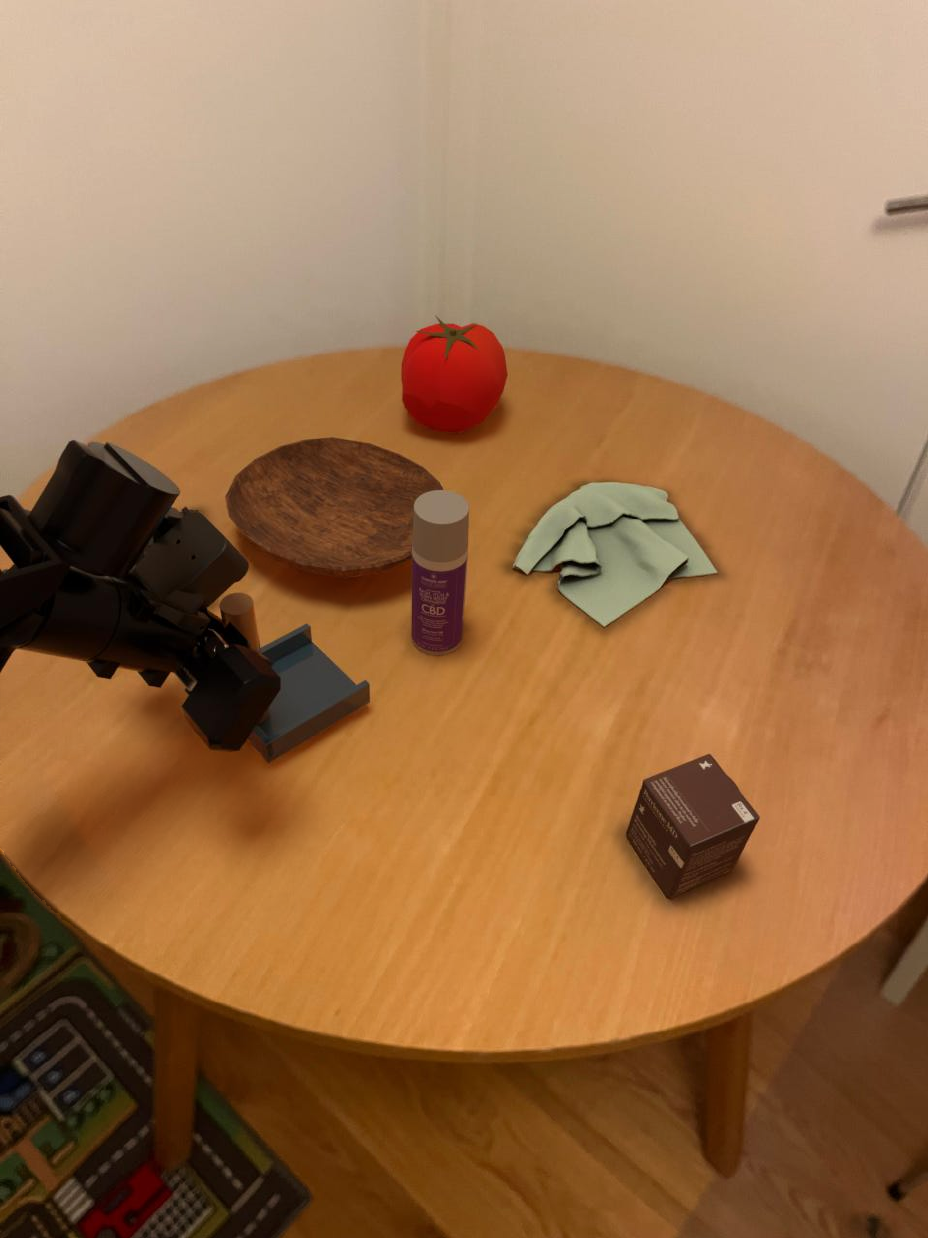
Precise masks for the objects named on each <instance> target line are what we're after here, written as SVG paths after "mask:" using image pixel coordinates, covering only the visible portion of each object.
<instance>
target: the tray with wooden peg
mask: <svg viewBox="0 0 928 1238" xmlns="http://www.w3.org/2000/svg"><path fill="white" fill-rule="evenodd" d="M254 603H255V602H254V599H253V598H252V597H251V595H249V594H247V593H244V592H232V593H229V594H227V595H226V596H223V597H222V598H221V600H220V602H219V606H218V607H219V611H220V618H221V619H222V623H223V628H224V629H225V627H226V626H227V624H228V623H229V622H231V623H232V624H233V625H234V626H235V627H236V629H237V630H238V631H239V632H240V633H241V634H242V635H243V636H244V637H245V638H246V639H247V640H248V642H249V644H250V647H251V650H254V651H256V652H258V653H260V654H262V655H264V656H266V657H268V658H270V659H271V660H272V661H273V662H274V664H273V666H272V667H271V668H272V669H273V670H274V671H275V672H276V673H277V674H278V675H279V676H280V678H281V690H280V691H279V693H278V694H277V696H276V697H275V699H274V700H273V702H272V703H271V705H270V706H269V708H268V709H267V711H266V712H265V714H264V715H263V717H262V718H261V720H260V721H259V722H258V724H257V725H256V727H255V728H254V730H253V731H252V733H251V734H250V736H249V737H248V739H247V740H246V741H248V742H249V743H250V744H251V746H252V747H253V748H254V749H255V750H256V752H258V754H259V755H260V756H261V757H262V758H263V759H264V760H265V762H266V763H267V764H270V763H272V762H274V761H275V760H277V759H279V758H281V757H282V756H284V755H285V754H287V753H289V752H290V751H292V750H294V749H295V748H297V747H299V746H300V745H302V744H303V743H305V742H307V741H309V740H310V739H312V738H313V737H315V736H317V735H319V734H320V733H322V732H323V731H325V730H327V729H328V728H330V727H332V726H333V725H335V724H337V723H338V722H340V721H342V720H344V719H346V718H347V717H348V716H350V715H352V714H353V713H356V712H357V711H358V710H360V709H362V708H364V707H365V706H367V705H368V704H370V703H371V687H370V686H371V684H370V682H369V681H368V680H366V679H364V680H363V681H360V682H359V683H357V684H356V683H355V681H353V680H352V678H350V677H349V676H348V675H347V674H346V673H345V672H344V671H343V670H342V669H341V668H340V667H339V666H338V665H337V664H336V663H335V662H334V661H333V660H332V659H331V658H330V657H329V656H328V655H327V654H325V652H324V651H323V650H321V648H320V647H318V646H317V645H316V644H315V642H313V637H312V627H311V626H310V625H309V624H308V623H304V624H303V625H301V626H299V627H297V628H295V629H293V630H292V631H289V632H288V633H286V634H284V635H282V636H280V637H278V638H276V639H275V640H272V641H270V642H269V643H266V644H265V645H263V646H261V643H260V635H259V629H258V623H257V617H256V609H255V604H254Z"/></svg>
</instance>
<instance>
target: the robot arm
mask: <svg viewBox="0 0 928 1238" xmlns="http://www.w3.org/2000/svg"><path fill="white" fill-rule="evenodd" d="M56 463H57V464H56V466H55V470H54V472H53V473H52V475H51V477H50V478H49V480H48V482H47V484H46V485H45V487H44V489H43V490H42V492H41V494H40V495H39V497H38V499H37V500H36V502H35V504H34V506H33V507H32V509H31V510H29V509H27V508H24V507H23V506H22V504H21V503H20V502H19V501H18V499H17V498H16V497H15V496H13V494H12V495H11V494H7V495H3V496H0V547H1V549H2V550H3V552H4V553H6V556H7V557H8V558H9V559H10V560H11V562H12V563H13V564H12V565H11V566H10V567H9V568H5V569H3V570H2V569H1V568H0V674H1V673H2V671H3V670H4V668H5V666H6V665H7V663H8V662H9V660H10V658H11V657H12V656H13V653H14V652H15V651H16V650H21V651H26V652H31V653H37V654H42V655H47V656H53V657H58V658H64V659H69V660H70V659H71V660H75V661H79V662H83V663H86V664H87V666H88V667H89V668H90V670H91V671H92V672H93V673H94V676H96V677H97V678H101V679H104V680H105V679H106V680H112V678H113V677H114V676H115V673H116V672H117V670H118V669H122V670H127V671H132V672H137V673H138V674H139V676H140V677H141V678H142V680H144V682H145V683H146V685H147V686H148V687H153V688H157V689H158V688H159V689H161V688H162V687H163V685H164V683H165V682H166V680H167V679H168V677H169V676H170V674H171V673H173V674H174V676H176V677H177V679H178V680H179V681H180V682H181V684H182V685H183V686H184V687H185V688H184V692H185V693H186V694H187V695H188V696H187V697H185V698H186V699H185V700H184V702H183V703H182V704H181V709H182V710H181V711H182V714H183V717H184V720H185V721H186V722H187V724H188V725H189V726H190V727H191V728H192V730H193V731H194V732H195V733H196V735H197V736H198V737H199V738H200V740H202V742H203V744H205V746H206V747H207V748H208V749H209V750H210V751H215V752H225V753H234V752H240V751H241V750H242V748H243V746H244V745H245V743H246V742H247V741H248V740H247V739H248V737H249V736H250V734H251V733H252V731H253V730H254V728H255V727H256V725H257V724H258V722H259V721H260V720H261V718H262V717H263V715H264V714H265V712H266V711H267V709H268V708H269V706H270V705H271V703H272V702H273V700H274V699H275V697H276V696H277V694H278V693H279V691H280V690H281V678H280V676H279V675H278V674H277V673H276V672H275V671H274V670H273V669H272V668H271V667H272V666H273V664H274V662H273V661H272V660H271V659H270V658H268V657H266V656H264V655H262V654H260V653H258V652H256V651H254V650H251V647H250V644H249V642H248V640H247V639H246V638H245V637H244V636H243V635H242V634H241V633H240V632H239V631H238V630H237V629H236V627H235V626H234V625H233V624H232V623H231V622H229V623H228V624H227V626H226V627H225V629H224V628H223V623H222V618H221V617H219V616H218V615H217V614H215V613H214V612H213V611H210V610H209V609H208V608H209V607H210V606H211V605H213V603H215V602H216V601H217V600H218V599H219V598H220V597H221V596H222V595H223V594H225V593H226V592H227V591H228V590H229V589H230V588H231V587H232V586H233V585H234V584H236V583H239V582H241V581H242V580H243V579H244V578H245V577H246V575H247V573H248V572H249V568H250V565H249V564H250V563H249V561H248V560H247V559H246V557H244V555H243V554H242V553H241V552H240V551H239V550H238V549H237V548H236V547H235V545H234V544H233V543H231V541H230V540H229V539H228V538H227V536H225V534H223V532H221V531H220V530H219V529H218V528H217V527H216V526H215V525H214V524H213V523H212V522H211V521H210V520H209V519H208V518H207V517H206V516H205V515H204V514H203V513H201V512H199V511H198V512H196V511H195V510H196V509H193V508H192V509H189V508H188V507H187V506H186V505H185V506H184V507H183V508H181V510H180V511H179V510H178V509H177V508H175V507H173V505H174V503H175V501H176V500H177V499H178V497H179V495H180V494H181V490H180V488H179V486H178V485H177V484H176V483H175V482H174V481H173V480H172V479H171V478H170V477H168V475H166V474H165V473H164V472H162V471H161V470H159V469H158V468H157V467H155V466H154V465H152V464H151V463H149V462H148V461H146V460H144V459H142V458H141V457H140V456H138V455H136V454H134V453H133V452H130V451H128V450H127V449H125V448H123V447H121V446H119V445H116V444H114V443H111V442H109V441H106V442H105V443H102V442H98V441H89V442H88V443H87V444H85V443H83V442H80V441H78V440H76V439H72V440H69V441H68V442H67V444H66V445H65V447H64V449H63V451H62V452H61V453H60V456H59V458H58V461H57V462H56ZM181 512H183V513H181Z"/></svg>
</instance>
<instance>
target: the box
mask: <svg viewBox="0 0 928 1238" xmlns="http://www.w3.org/2000/svg"><path fill="white" fill-rule="evenodd" d="M760 819H761V816H760V815H759V813H758V812H757V811H756V810H755V808H754V807H753V805H751V803H750V801H748V799H747V798H746V797H745V795H744V794H743V793H742V792H741V790H740V788H739V786H738V785H737V783H735V781H734V780H733V779H732V778H731V777H730V776H729V774H728V775H727V773H726V772H725V770H724V769H723V768H722V767H721V766H720V764H719V763H718V761H717V760H716V759H715V758H714V757H713V755H712V753H707V754H704V755H702V756H699V757H697V758H694V759H692V760H690V761H687V762H684V763H682V764H679V765H677V766H674V767H672V768H669V769H667V770H664V771H662V772H659V773H656V774H654V775H651V776H649V777H645V778H644V779H643V780H642V783H641V787H640V789H639V792H638V795H637V799H636V802H635V805H634V807H633V811H632V814H631V816H630V819H629V823H628V825H627V829H626V831H625V834H626V835H625V836H626V838H627V839H628V841H629V842H630V844H631V846H632V847H633V849H634V850H635V852H636V853H637V855H638V856H639V858H640V859H641V861H642V862H643V864H644V866H645V867H646V868H647V870H648V872H649V873H650V874H651V877H652V878H653V879H654V880H655V882H656V883H657V884H658V886H659V887H660V889H661V890H662V892H663V894H664V895H665V896H666V897H667V898H670V899H671V898H674V897H676V896H678V895H680V894H683V893H685V892H686V891H689V890H690V889H693V888H695V887H697V886H699V885H702V884H703V883H706V882H708V881H710V880H713V879H715V878H717V877H719V876H723V875H724V874H726V873H729V872H730V871H732V870H733V869H734V868H735V866H736V865H737V863H738V862H739V859H740V857H741V855H742V853H743V851H744V849H745V847H746V845H747V844H748V841H749V840H750V838H751V836H752V834H753V832H754V830H755V829H756V826H757V825H758V822H759V821H760Z"/></svg>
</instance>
